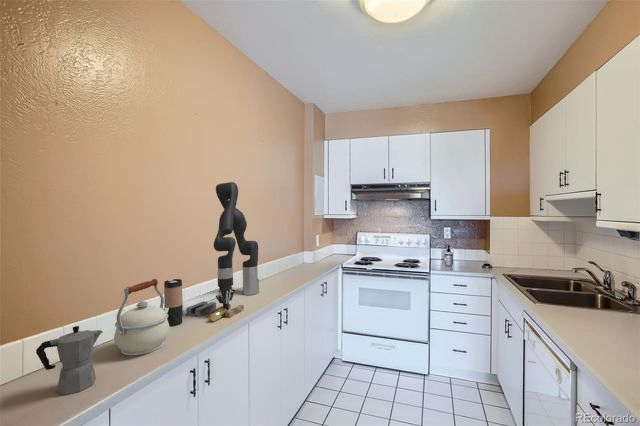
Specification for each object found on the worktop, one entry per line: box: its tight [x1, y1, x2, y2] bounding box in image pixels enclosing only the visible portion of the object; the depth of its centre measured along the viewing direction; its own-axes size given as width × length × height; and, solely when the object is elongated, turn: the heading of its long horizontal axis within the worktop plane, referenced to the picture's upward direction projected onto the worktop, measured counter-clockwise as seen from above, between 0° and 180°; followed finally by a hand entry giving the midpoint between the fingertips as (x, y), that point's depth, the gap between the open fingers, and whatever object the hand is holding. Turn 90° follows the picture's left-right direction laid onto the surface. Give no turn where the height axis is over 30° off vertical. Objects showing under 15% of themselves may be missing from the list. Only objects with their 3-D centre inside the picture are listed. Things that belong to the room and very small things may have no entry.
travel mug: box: [163, 278, 184, 327], centre depth 140 cm, size 8×8×20 cm
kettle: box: [113, 278, 170, 357], centre depth 118 cm, size 25×18×25 cm
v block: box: [185, 300, 217, 318], centre depth 156 cm, size 12×9×4 cm
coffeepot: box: [35, 325, 104, 395], centre depth 90 cm, size 15×9×18 cm, turn 137°
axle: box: [207, 308, 227, 323], centre depth 146 cm, size 10×4×4 cm, turn 162°
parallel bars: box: [211, 303, 245, 319], centre depth 154 cm, size 12×11×2 cm
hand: (225, 310), depth 153 cm, fingers closed
